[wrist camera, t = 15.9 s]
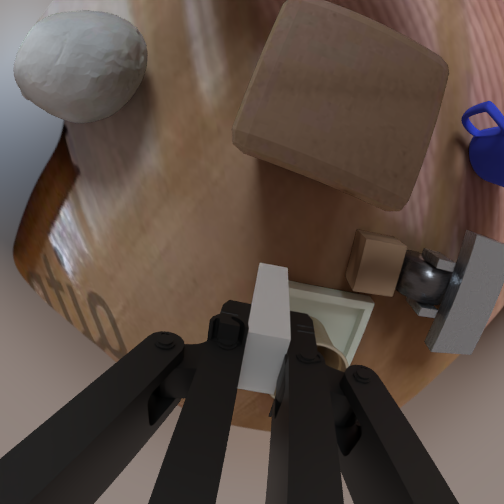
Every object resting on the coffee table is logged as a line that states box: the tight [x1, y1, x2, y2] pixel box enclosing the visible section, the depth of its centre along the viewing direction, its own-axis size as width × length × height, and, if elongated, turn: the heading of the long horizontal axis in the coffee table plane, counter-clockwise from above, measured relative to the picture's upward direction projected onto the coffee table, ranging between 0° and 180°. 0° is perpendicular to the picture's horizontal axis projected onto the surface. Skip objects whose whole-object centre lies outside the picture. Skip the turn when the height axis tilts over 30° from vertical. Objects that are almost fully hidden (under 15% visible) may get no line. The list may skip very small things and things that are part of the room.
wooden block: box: [232, 0, 449, 211], centre depth 22 cm, size 10×10×20 cm
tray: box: [288, 280, 375, 366], centre depth 38 cm, size 14×14×2 cm
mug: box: [462, 101, 504, 187], centre depth 25 cm, size 8×12×10 cm
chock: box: [345, 229, 407, 297], centre depth 33 cm, size 6×5×4 cm
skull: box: [14, 10, 147, 123], centre depth 25 cm, size 13×18×15 cm
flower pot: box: [269, 316, 349, 399], centre depth 34 cm, size 9×9×9 cm
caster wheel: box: [395, 230, 504, 355], centre depth 31 cm, size 14×12×9 cm
